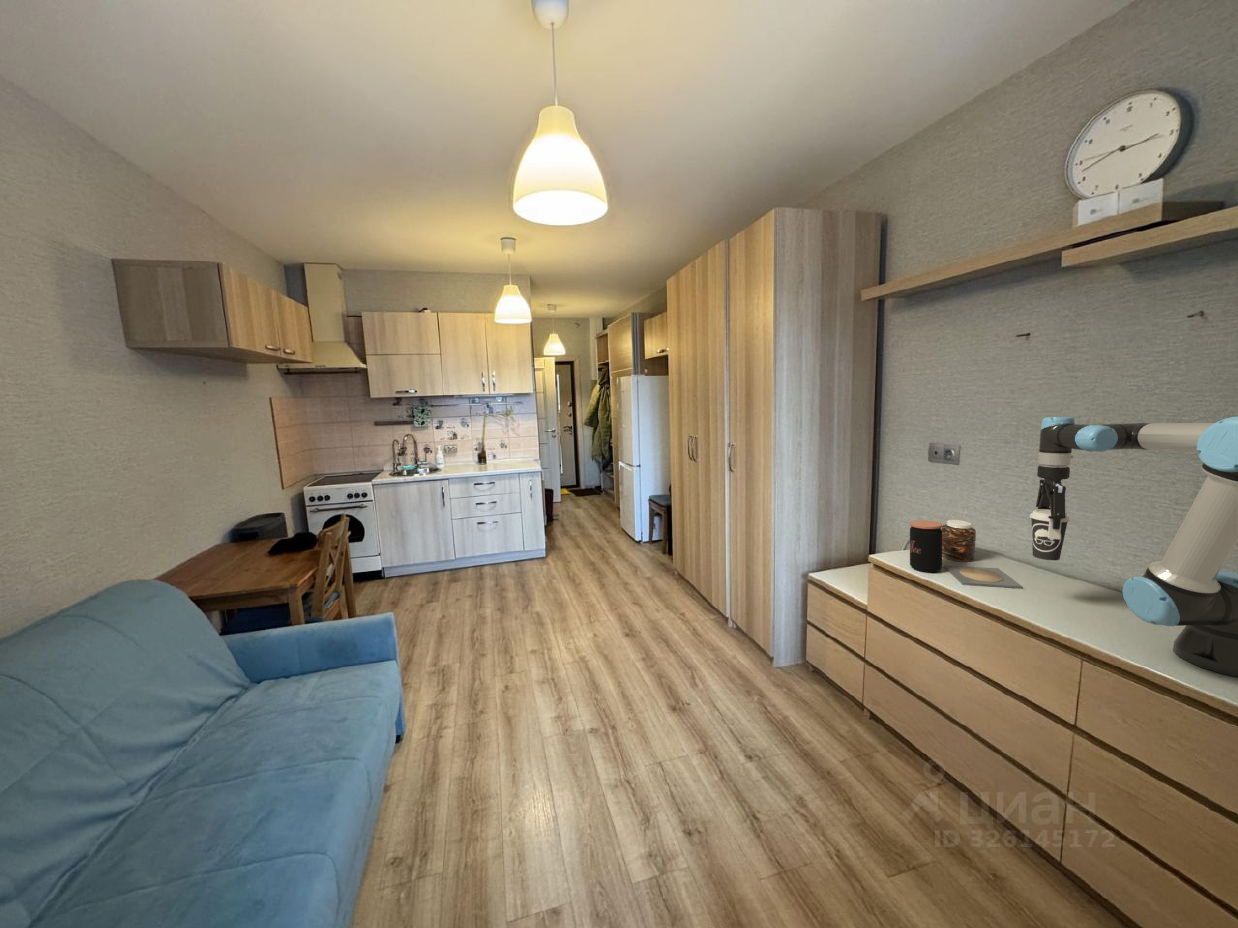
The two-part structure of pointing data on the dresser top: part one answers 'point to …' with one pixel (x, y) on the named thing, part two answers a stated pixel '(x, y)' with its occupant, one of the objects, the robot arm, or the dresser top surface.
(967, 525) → the jar
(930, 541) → the coffee jar
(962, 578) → the trivet
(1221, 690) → the dresser top surface
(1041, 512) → the coffee cup
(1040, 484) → the robot arm
